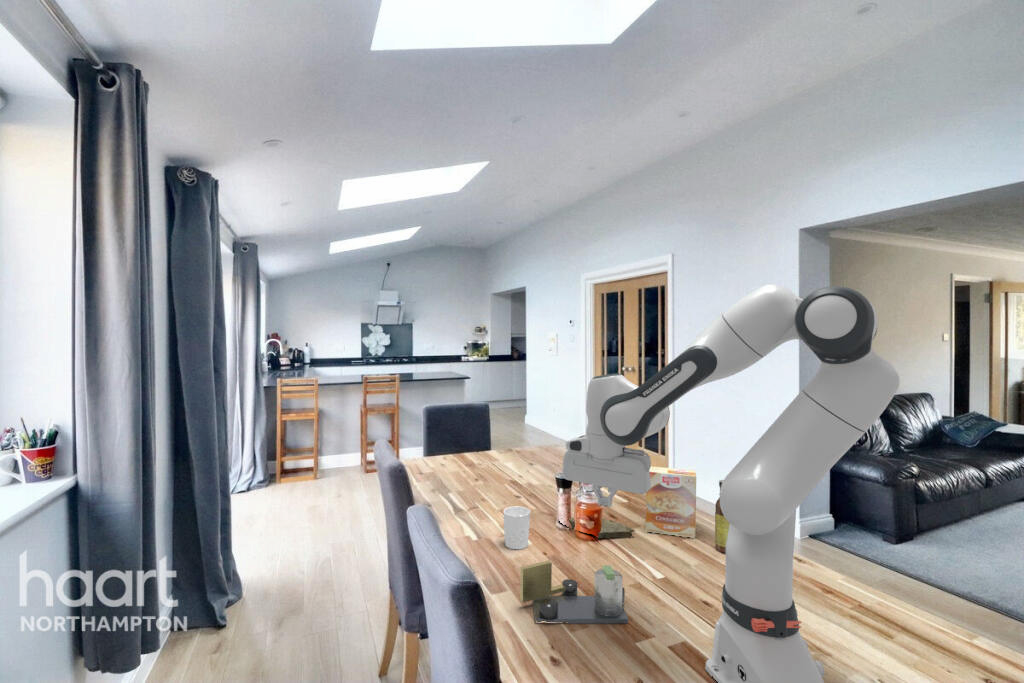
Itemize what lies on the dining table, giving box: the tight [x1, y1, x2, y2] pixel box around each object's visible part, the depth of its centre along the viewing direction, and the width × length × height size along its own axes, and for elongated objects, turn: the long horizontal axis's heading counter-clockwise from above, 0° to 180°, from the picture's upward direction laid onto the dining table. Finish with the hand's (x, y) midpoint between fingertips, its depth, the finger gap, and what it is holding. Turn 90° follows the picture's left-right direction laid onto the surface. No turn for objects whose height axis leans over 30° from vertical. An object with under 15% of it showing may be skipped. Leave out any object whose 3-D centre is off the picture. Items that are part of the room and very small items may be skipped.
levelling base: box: [532, 564, 629, 624], centre depth 106 cm, size 10×21×10 cm, turn 91°
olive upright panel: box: [519, 560, 579, 603], centre depth 111 cm, size 15×4×9 cm, turn 116°
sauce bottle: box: [714, 479, 729, 554], centre depth 138 cm, size 7×6×20 cm
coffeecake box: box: [644, 465, 697, 539], centre depth 151 cm, size 15×7×20 cm, turn 73°
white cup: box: [503, 505, 531, 550], centre depth 140 cm, size 8×8×10 cm
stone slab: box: [569, 518, 636, 539], centre depth 152 cm, size 27×12×5 cm, turn 53°
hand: (604, 505), depth 108 cm, fingers closed
